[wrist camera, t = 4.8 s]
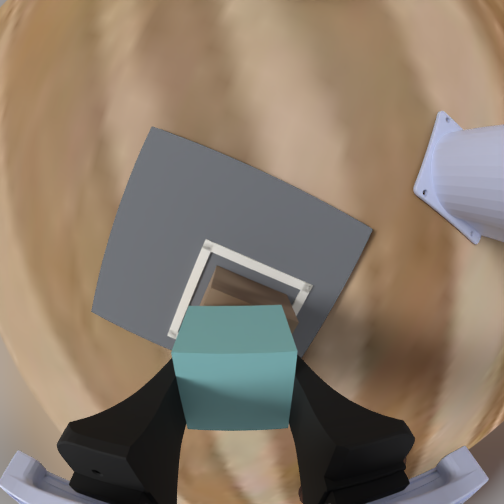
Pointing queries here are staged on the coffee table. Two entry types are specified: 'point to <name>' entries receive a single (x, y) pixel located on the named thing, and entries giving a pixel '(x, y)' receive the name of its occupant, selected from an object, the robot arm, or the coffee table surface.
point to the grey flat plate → (218, 240)
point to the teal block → (235, 367)
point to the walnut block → (244, 294)
